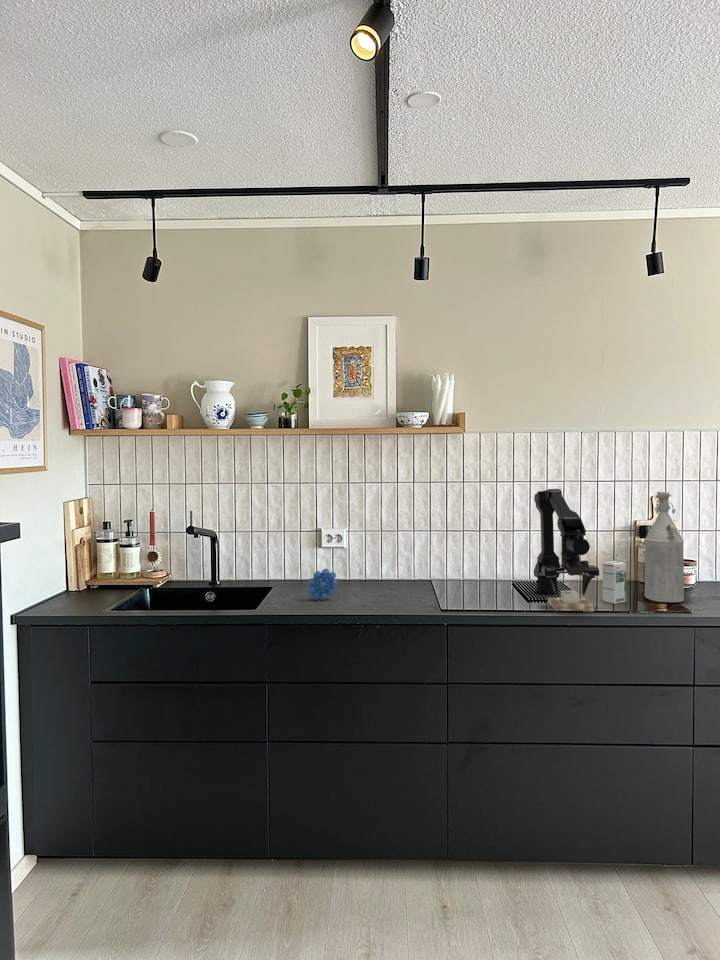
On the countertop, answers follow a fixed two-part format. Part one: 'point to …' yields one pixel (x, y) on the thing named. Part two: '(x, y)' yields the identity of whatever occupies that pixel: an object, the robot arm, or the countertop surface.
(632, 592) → the countertop surface
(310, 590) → the grapes
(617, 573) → the syrup box
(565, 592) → the cream block
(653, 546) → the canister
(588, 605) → the socket block
